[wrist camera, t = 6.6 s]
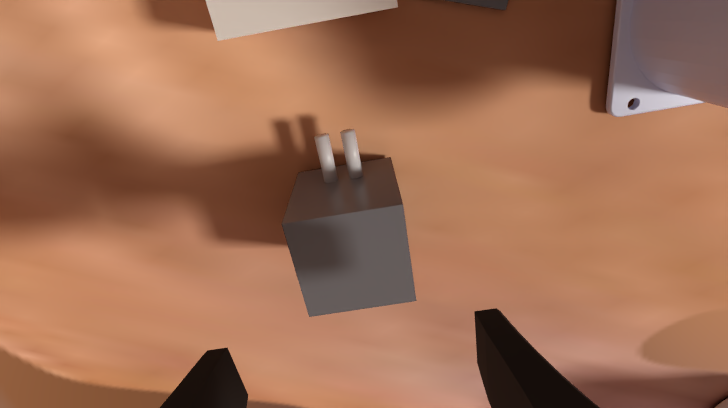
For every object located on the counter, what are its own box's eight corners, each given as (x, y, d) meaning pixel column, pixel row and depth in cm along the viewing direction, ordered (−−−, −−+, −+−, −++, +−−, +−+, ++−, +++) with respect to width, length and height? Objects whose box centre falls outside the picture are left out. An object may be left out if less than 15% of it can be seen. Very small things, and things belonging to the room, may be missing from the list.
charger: (287, 131, 18) (266, 172, 13) (384, 115, 18) (395, 151, 13) (318, 250, 21) (309, 316, 16) (402, 236, 20) (416, 300, 16)
